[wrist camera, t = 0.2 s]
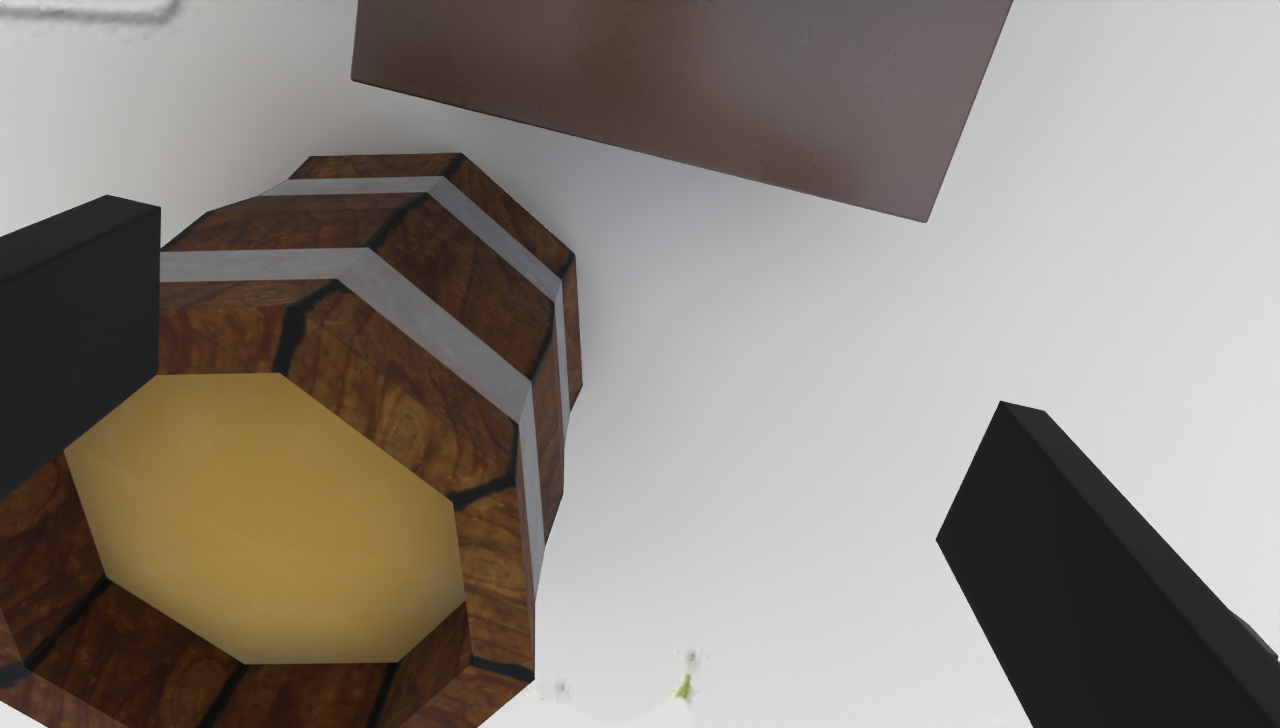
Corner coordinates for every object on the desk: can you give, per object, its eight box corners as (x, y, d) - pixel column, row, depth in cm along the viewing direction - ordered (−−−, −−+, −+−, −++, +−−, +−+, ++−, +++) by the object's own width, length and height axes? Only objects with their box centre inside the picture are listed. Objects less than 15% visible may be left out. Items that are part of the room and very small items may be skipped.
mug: (485, 71, 28) (331, 158, 14) (651, 409, 33) (654, 714, 19) (10, 300, 31) (-483, 547, 18) (226, 575, 36) (-29, 934, 23)
